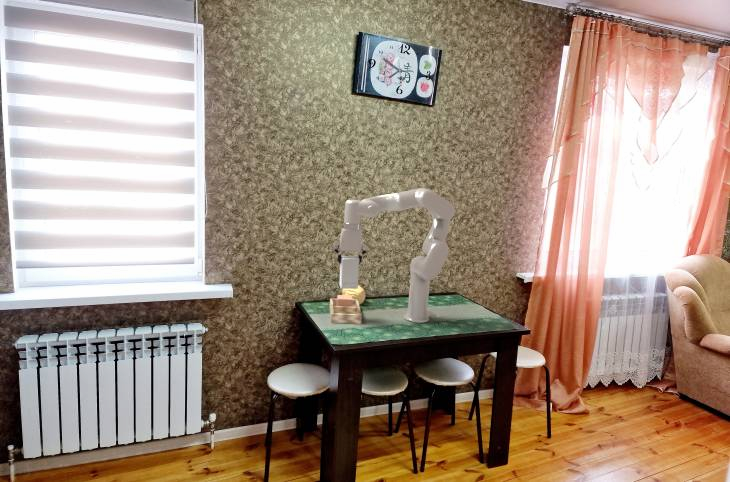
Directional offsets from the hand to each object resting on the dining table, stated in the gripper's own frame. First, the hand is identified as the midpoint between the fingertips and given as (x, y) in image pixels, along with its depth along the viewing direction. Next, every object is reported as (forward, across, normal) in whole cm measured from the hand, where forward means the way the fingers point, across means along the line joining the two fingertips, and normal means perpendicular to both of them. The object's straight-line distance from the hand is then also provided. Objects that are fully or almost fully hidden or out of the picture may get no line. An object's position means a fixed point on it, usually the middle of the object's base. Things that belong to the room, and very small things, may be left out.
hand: (349, 263), depth 219 cm
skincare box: (+12, 0, 0) cm, 12 cm away
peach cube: (+27, 0, -12) cm, 30 cm away
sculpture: (+28, -6, -26) cm, 39 cm away
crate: (+28, 0, -6) cm, 29 cm away
